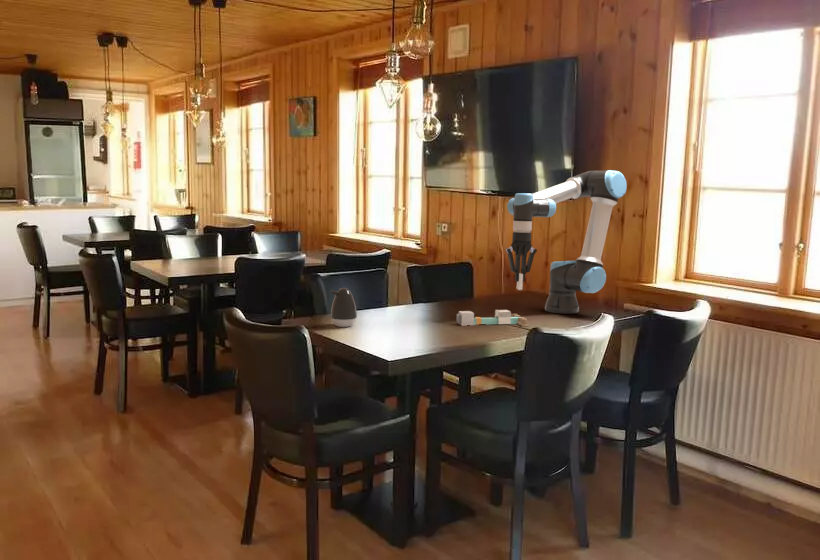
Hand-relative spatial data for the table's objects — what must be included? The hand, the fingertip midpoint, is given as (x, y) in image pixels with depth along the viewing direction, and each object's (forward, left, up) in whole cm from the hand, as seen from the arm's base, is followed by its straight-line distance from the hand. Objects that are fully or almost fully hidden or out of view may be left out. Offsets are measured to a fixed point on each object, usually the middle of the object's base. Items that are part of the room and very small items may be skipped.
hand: (519, 289), depth 290 cm
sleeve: (+7, 0, -14) cm, 16 cm away
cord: (+12, 0, -14) cm, 19 cm away
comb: (0, 0, -14) cm, 14 cm away
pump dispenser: (+72, -2, -14) cm, 73 cm away
